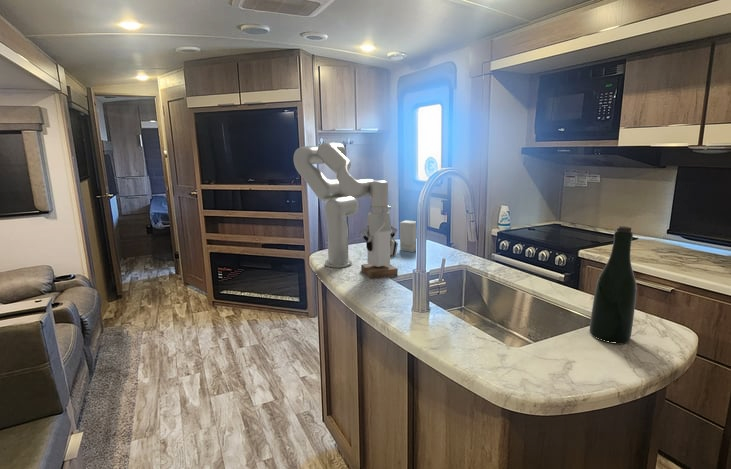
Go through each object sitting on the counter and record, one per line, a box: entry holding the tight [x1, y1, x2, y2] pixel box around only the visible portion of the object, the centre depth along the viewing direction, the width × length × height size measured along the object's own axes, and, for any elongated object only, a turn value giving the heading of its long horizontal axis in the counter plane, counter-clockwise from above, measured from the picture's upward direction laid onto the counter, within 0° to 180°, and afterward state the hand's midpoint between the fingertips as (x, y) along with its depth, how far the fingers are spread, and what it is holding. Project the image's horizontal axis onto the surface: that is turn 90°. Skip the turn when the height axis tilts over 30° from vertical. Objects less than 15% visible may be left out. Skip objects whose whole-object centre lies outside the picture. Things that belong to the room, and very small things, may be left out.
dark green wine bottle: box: [588, 226, 638, 344], centre depth 115 cm, size 10×10×33 cm
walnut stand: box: [360, 263, 399, 280], centre depth 177 cm, size 12×12×3 cm
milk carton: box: [367, 222, 392, 267], centre depth 175 cm, size 7×7×19 cm
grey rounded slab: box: [390, 238, 399, 257], centre depth 210 cm, size 17×5×10 cm, turn 36°
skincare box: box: [399, 219, 416, 253], centre depth 214 cm, size 8×7×16 cm
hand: (378, 249), depth 175 cm, fingers closed on milk carton, 8 cm apart
